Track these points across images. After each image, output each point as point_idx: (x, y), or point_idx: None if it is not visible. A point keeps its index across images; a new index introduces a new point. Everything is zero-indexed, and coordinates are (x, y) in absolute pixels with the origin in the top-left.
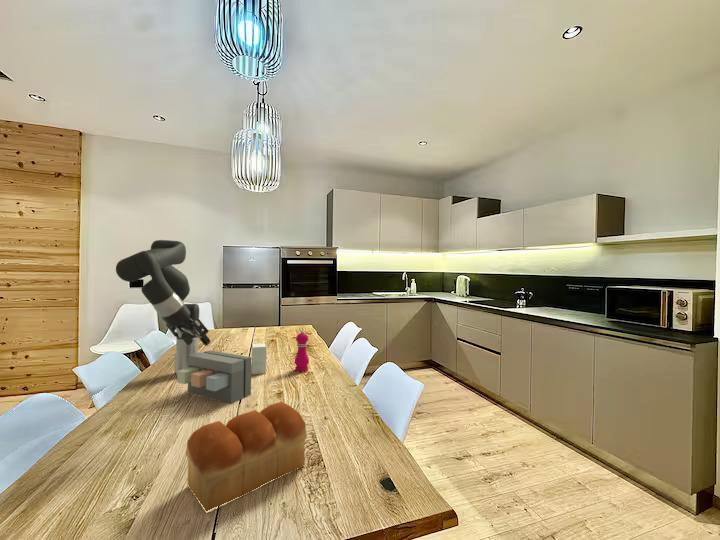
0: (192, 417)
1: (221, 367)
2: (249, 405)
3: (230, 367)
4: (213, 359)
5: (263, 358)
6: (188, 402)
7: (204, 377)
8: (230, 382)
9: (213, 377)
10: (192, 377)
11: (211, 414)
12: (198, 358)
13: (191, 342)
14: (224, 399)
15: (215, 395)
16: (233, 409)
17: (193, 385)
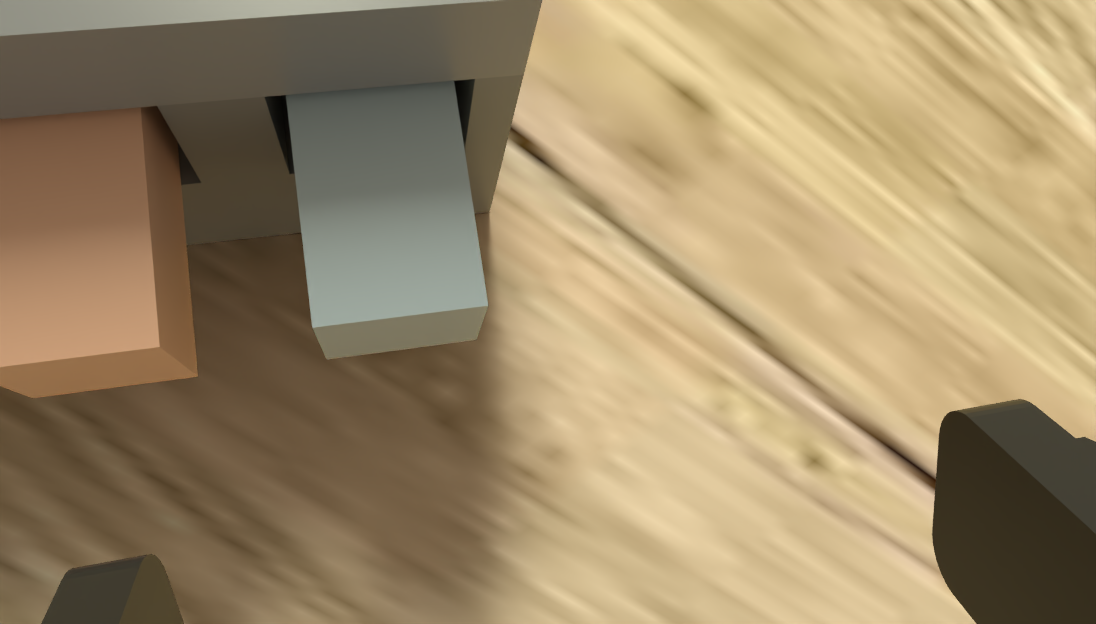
0: (469, 608)
1: (314, 62)
2: (657, 145)
3: (508, 34)
4: (53, 2)
5: None
6: (75, 438)
7: (164, 273)
8: (494, 129)
9: (412, 278)
10: (13, 376)
11: (554, 461)
12: None
13: (170, 612)
14: None
15: (258, 223)
16: (618, 279)
17: (79, 390)
